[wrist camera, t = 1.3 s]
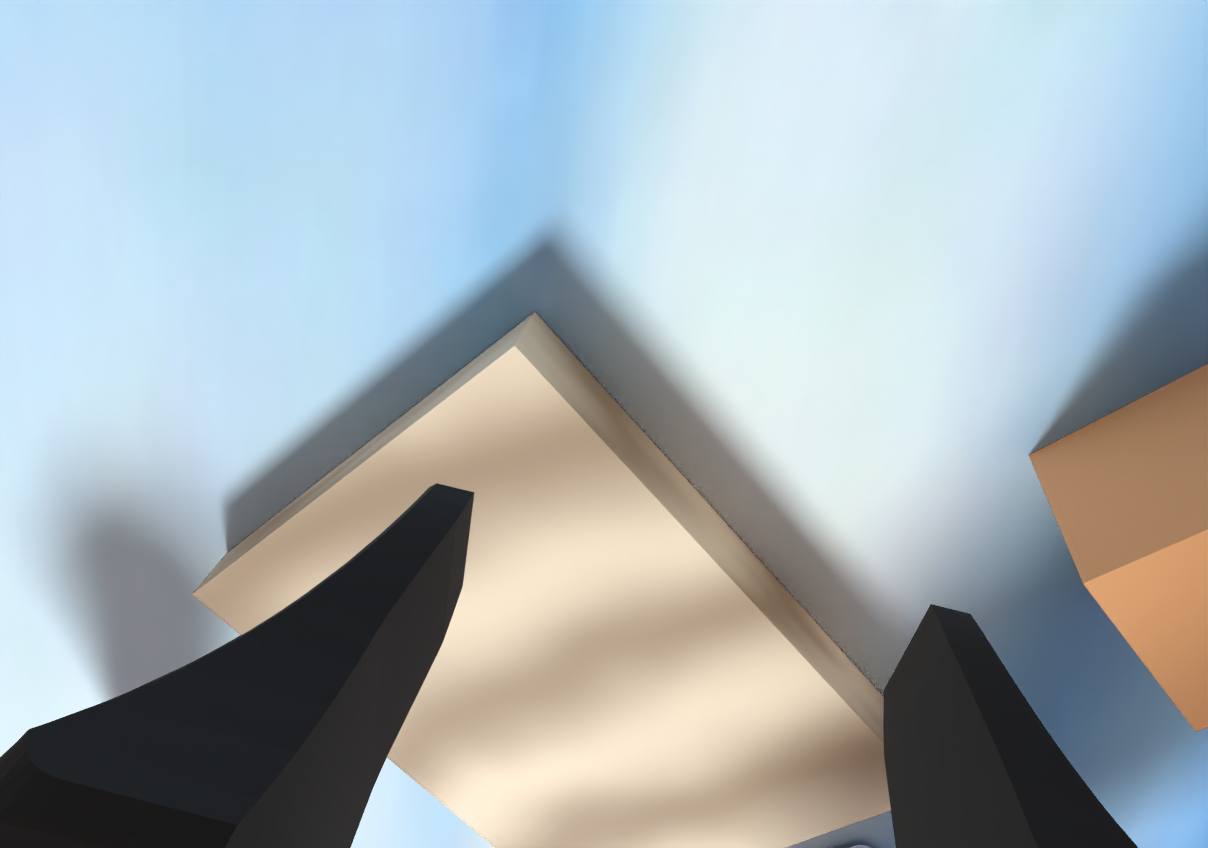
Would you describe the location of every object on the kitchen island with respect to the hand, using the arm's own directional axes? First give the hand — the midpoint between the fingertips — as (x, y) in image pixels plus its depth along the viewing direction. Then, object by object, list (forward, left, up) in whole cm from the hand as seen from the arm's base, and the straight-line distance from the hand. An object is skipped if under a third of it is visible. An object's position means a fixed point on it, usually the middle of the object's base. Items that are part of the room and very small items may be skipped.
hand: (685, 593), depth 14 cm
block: (-10, -7, -10) cm, 15 cm away
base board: (-6, +10, -10) cm, 15 cm away
